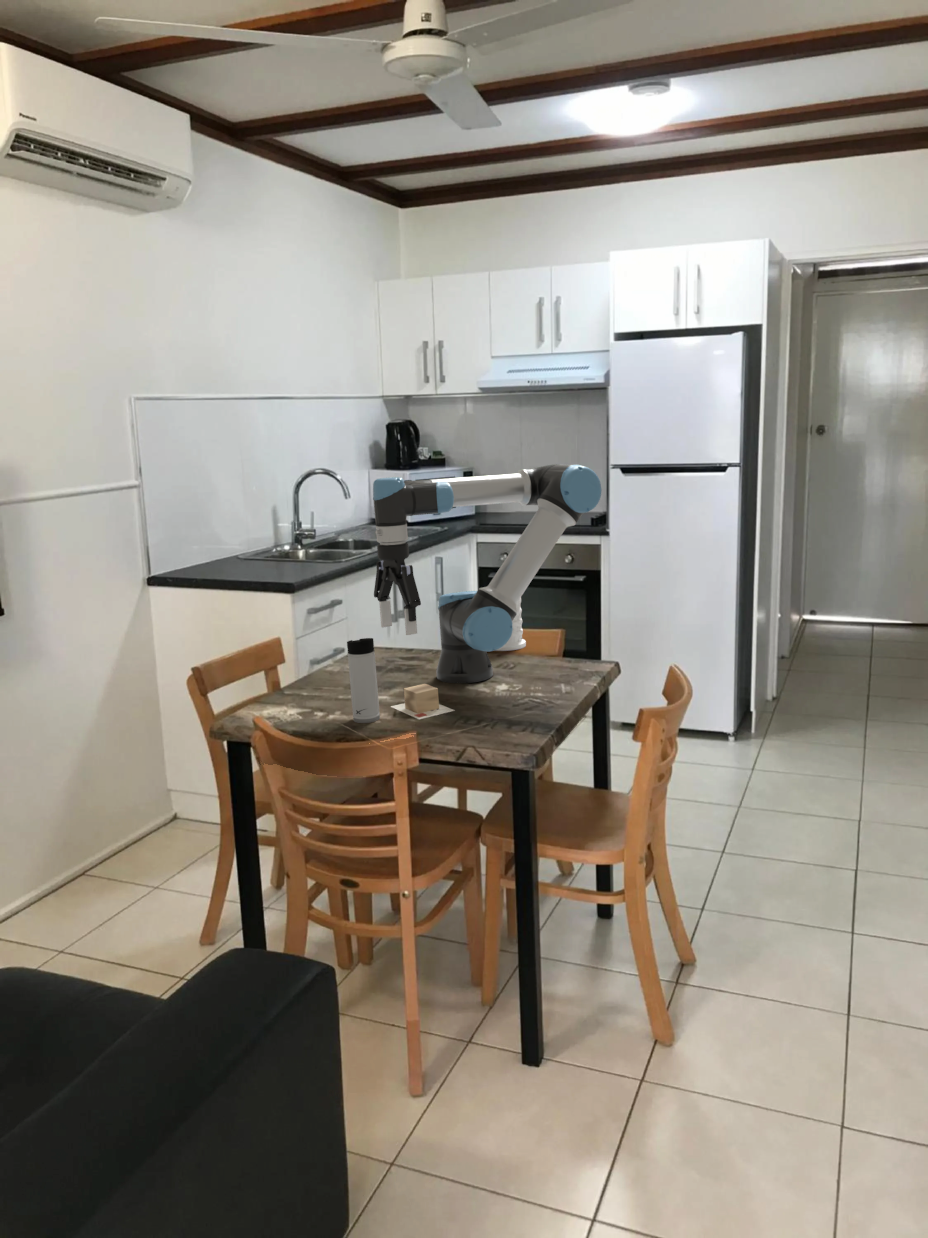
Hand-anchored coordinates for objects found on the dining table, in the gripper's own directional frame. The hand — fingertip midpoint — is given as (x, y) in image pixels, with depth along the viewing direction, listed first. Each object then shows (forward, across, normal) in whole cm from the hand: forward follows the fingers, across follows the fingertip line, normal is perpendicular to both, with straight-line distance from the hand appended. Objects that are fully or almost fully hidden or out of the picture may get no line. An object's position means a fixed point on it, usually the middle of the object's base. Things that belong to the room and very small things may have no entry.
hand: (398, 630), depth 245 cm
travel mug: (+19, +7, -14) cm, 24 cm away
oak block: (+18, +9, 0) cm, 20 cm away
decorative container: (+18, -29, +52) cm, 62 cm away
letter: (+18, +9, 0) cm, 20 cm away
